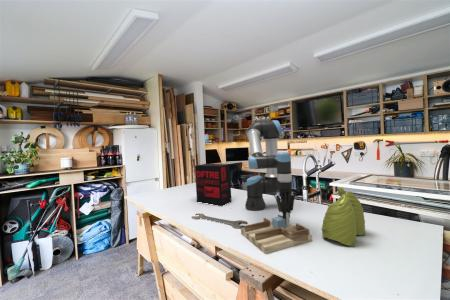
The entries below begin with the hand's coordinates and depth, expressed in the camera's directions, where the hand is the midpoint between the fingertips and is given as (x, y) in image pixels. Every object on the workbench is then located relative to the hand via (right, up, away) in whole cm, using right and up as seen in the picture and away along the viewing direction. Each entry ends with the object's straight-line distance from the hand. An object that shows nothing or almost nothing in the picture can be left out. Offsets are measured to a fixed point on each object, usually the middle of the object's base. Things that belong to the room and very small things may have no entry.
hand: (286, 224), depth 117 cm
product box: (-43, -5, +68) cm, 80 cm away
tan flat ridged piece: (-7, -5, -4) cm, 10 cm away
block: (-4, -2, 0) cm, 5 cm away
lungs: (+27, -4, -7) cm, 28 cm away
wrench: (-38, -6, +23) cm, 45 cm away
